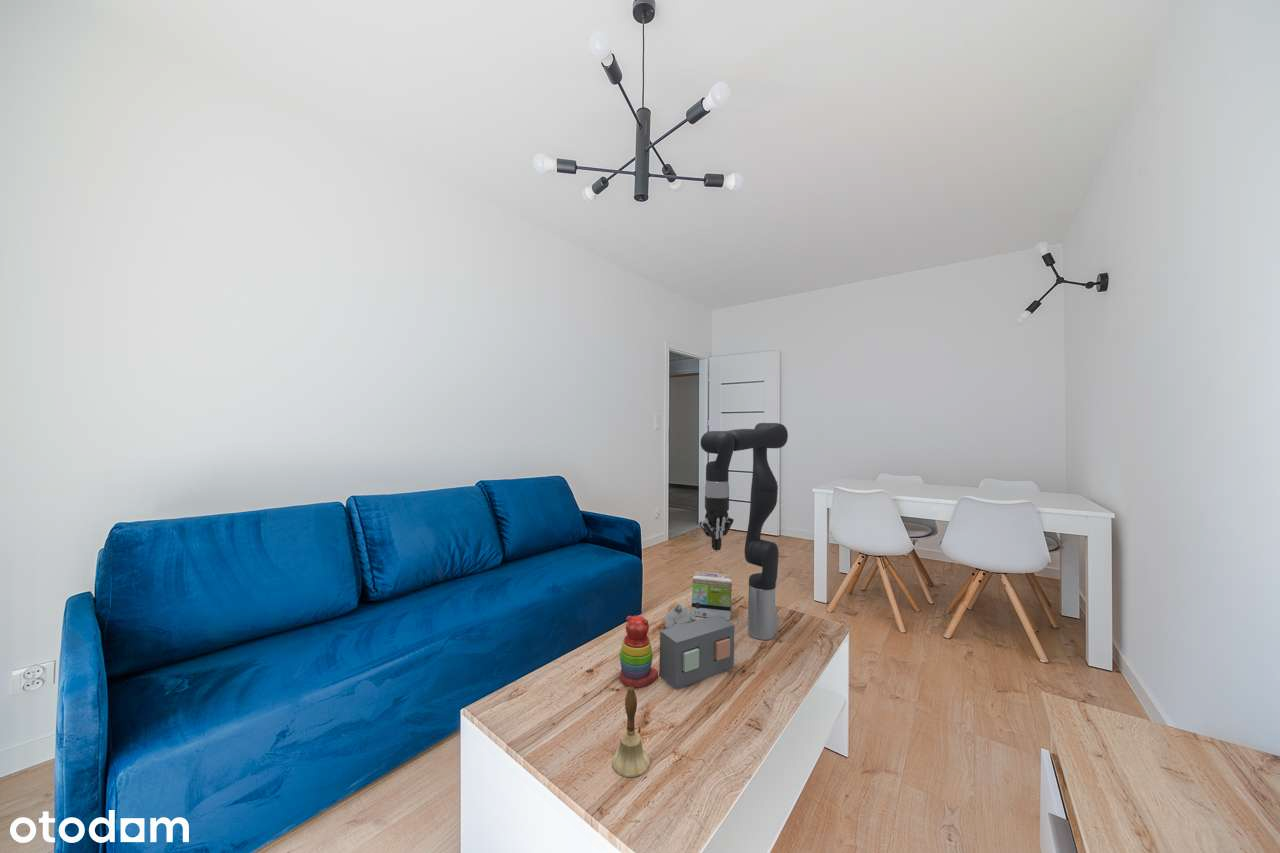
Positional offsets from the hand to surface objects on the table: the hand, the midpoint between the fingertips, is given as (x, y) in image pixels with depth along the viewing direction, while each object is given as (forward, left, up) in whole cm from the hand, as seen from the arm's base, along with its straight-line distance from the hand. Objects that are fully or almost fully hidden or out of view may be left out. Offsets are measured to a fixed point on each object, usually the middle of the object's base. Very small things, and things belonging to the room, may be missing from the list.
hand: (716, 549), depth 136 cm
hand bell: (+44, +23, -35) cm, 60 cm away
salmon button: (+3, +5, -30) cm, 31 cm away
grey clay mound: (-3, -22, -35) cm, 41 cm away
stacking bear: (+26, -4, -35) cm, 44 cm away
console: (+9, +3, -35) cm, 36 cm away
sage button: (+15, +5, -30) cm, 34 cm away
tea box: (-22, -26, -35) cm, 49 cm away
